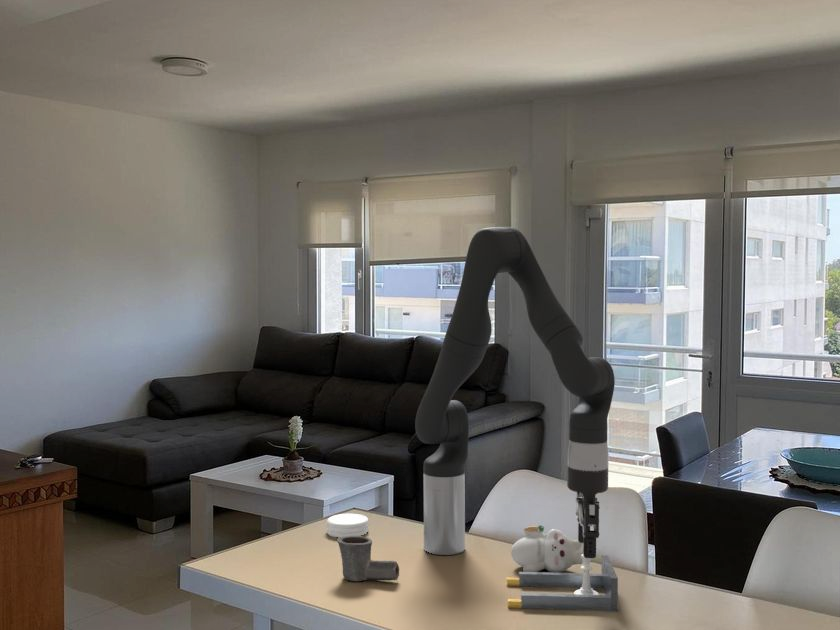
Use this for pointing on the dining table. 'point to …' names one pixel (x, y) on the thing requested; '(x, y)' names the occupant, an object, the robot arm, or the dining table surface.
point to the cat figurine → (546, 550)
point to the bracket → (568, 601)
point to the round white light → (347, 525)
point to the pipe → (364, 561)
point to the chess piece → (586, 579)
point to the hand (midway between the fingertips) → (586, 549)
